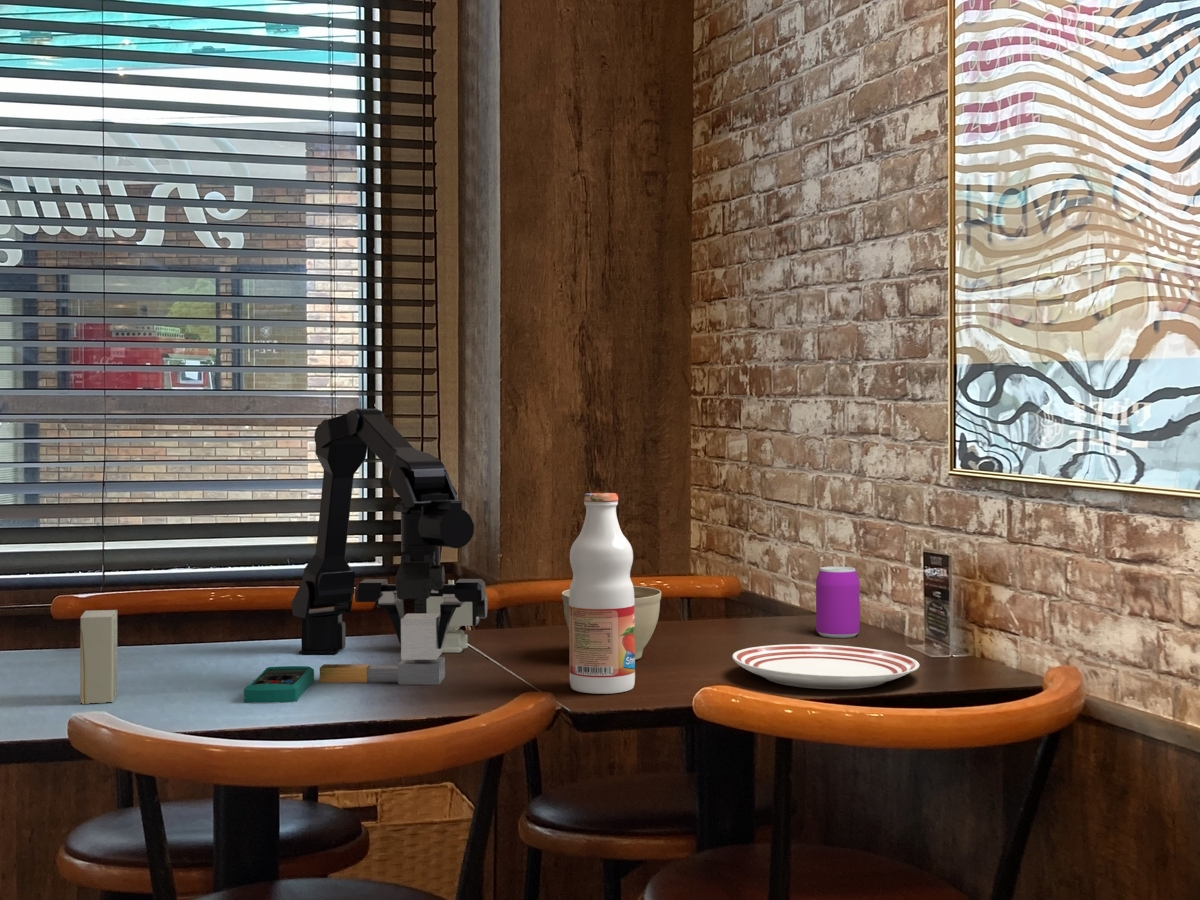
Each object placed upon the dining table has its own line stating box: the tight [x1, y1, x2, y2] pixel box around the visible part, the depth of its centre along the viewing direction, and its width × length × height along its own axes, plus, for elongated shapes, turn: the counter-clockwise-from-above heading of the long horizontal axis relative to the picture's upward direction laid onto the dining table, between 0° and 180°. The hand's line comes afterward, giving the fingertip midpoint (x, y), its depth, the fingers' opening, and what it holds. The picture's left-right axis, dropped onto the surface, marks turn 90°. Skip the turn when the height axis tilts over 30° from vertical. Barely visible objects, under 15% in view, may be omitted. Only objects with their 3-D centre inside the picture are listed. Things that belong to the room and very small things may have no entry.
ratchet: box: [319, 656, 446, 686], centre depth 192 cm, size 18×6×6 cm, turn 88°
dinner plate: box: [731, 643, 920, 690], centre depth 192 cm, size 28×27×3 cm
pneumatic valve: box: [414, 579, 489, 654], centre depth 217 cm, size 6×12×12 cm, turn 89°
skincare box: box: [79, 609, 118, 705], centre depth 180 cm, size 6×4×12 cm
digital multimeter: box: [243, 665, 315, 703], centre depth 184 cm, size 7×15×3 cm, turn 3°
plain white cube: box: [400, 613, 443, 661], centre depth 192 cm, size 5×5×6 cm
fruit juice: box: [568, 492, 636, 695], centre depth 185 cm, size 9×9×28 cm
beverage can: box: [815, 565, 861, 639], centre depth 230 cm, size 8×8×12 cm
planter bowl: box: [561, 585, 662, 661], centre depth 209 cm, size 16×16×11 cm
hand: (421, 648), depth 192 cm, fingers closed on plain white cube, 5 cm apart
